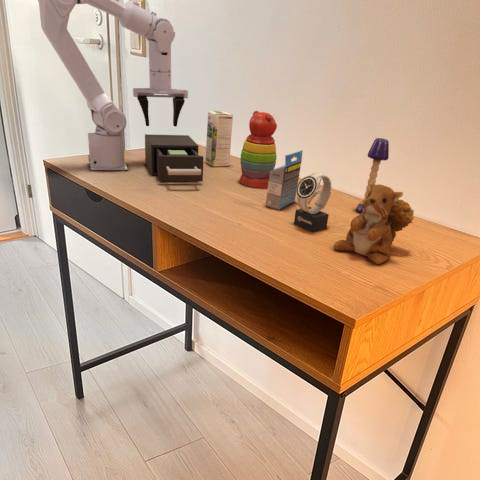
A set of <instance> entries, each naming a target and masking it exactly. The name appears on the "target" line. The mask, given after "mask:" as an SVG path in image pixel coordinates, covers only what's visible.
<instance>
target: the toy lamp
mask: <svg viewBox="0 0 480 480" xmlns="http://www.w3.org/2000/svg"><path fill="white" fill-rule="evenodd" d="M389 152H390V141H389V140H388V139H386V138H380V137H375V138H374V140H373V143H372V145H371V146H370V148H369V150H368V153H367V157H368V158H369V159H371V160H372V165H371V167H370V172H369V178H368V180H367V185H366V188H365V191H364V198H363V200H366V197H367V195H368V193H369V191H370V183H371V182H374V183H375V184H377V183H376V182H377V177H378V172H379V170H380V165H381V161H388V160H389V156H390V155H389V154H390V153H389ZM363 200H362V201H363ZM363 203H364V201H363V202H361V203H360V204H359V203H358V204H359V206H357V205H356V208H355V211H356V212H357V213H359V214H360V215H361V214H362V212H363V211H364V210H366V209H365V204H364V205H363V206H362V204H363ZM361 206H362V208H361ZM360 208H361V210H359V209H360Z"/></svg>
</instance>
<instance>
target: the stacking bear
mask: <svg viewBox="0 0 480 480" xmlns="http://www.w3.org/2000/svg"><path fill="white" fill-rule="evenodd" d="M248 127H249V132H250V134H248V135H247V137H246V138H245V140H244V141H243V145H242V149H241V153H240V169H241V175H240V177H239V183H240V184H241V185H244V186H246V187H250V188H261V189H263V188H264V189H268V183H269V175H270V171H271V170H274V169H276V163H277V146H276V143H275V141H276V140H275V138H274V137H273V135H274V134H275V132H276V131H277V128H278V123H277V122H276V120H275V118H274V116H273V115H272V114H271V113H269V112H265V111H258V110H254V111H253V113H252V116H251V117H250V119H249V124H248Z"/></svg>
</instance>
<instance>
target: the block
mask: <svg viewBox="0 0 480 480" xmlns="http://www.w3.org/2000/svg"><path fill="white" fill-rule="evenodd" d="M168 155H186V156H188V154H187V153H186V152H185V151H184V150H168Z"/></svg>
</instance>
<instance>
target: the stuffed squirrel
mask: <svg viewBox="0 0 480 480" xmlns="http://www.w3.org/2000/svg"><path fill="white" fill-rule="evenodd" d="M403 196H404V192H403V191H395V190H393V188H392V187H390V186H387V185H383V184H376V183H374V182H371V183H370V191H369V193H368V195H367V197H366V200H361V201H360V202H359V203H358V204H357V205H356V207H357V206H359V204H362V203H363V201H364V203H363V204H362V206H363V205H364V204H365V209H366V210H364V211H363V212H362V214H361V213H360V214H359V215H357V216H355V217H353V218H352V219H351V221H350V228H349V230H348V232H347V234H346V236H345V239H340V240H339V239H338V240H337V241H336V242H335V243H333V246H332V247H333V249H334V250H335V251H341V252H353V251H354V252H355V253H357V254H359V255H361V256H363V257H364V256H366V257H367V259H369V260H370V261H371V262H372V263H374V264H376V265H381V264H383V263H385V262H386V261H387V260H388V259H389V257H390V256H391V255H390V254H391V247H392V245H393V243H394V241H395V239H396V237H397V233H398V232H400V231H403V229H405V228H406V227H408V226H409V225H410V224H414V222H413V220H414V219H415V217H414V213H415V211H414V209H412V207H411V204H409V202H407V201H404V199H400V198H402V197H403ZM362 206H361V208H362ZM361 208H360V209H359V210H361ZM396 232H397V233H396Z"/></svg>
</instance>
